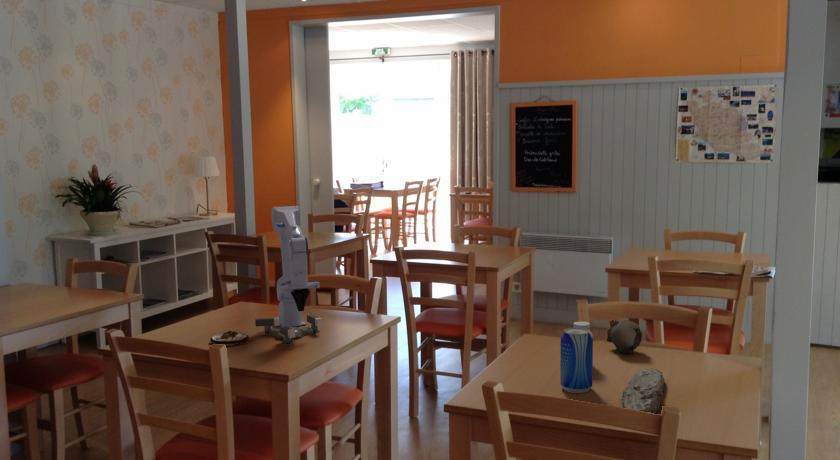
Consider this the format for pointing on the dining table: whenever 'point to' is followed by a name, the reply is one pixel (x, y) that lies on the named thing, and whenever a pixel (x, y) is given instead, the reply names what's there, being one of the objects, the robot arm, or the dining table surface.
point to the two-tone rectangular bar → (287, 333)
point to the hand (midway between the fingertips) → (300, 310)
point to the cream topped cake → (230, 338)
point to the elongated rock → (644, 391)
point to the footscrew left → (314, 321)
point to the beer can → (576, 360)
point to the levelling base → (298, 333)
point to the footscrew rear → (267, 323)
